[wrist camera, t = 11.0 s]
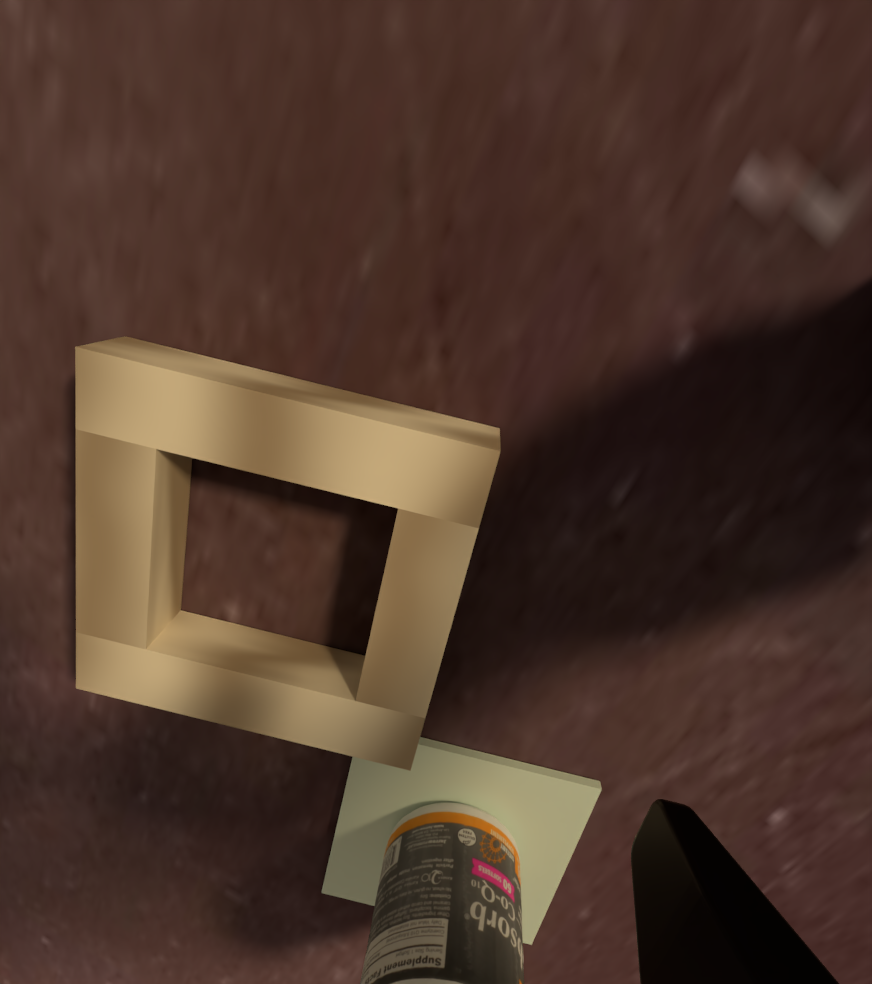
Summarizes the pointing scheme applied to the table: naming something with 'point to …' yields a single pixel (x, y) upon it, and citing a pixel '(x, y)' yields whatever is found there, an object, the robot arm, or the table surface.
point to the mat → (472, 781)
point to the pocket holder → (286, 456)
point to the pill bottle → (447, 902)
